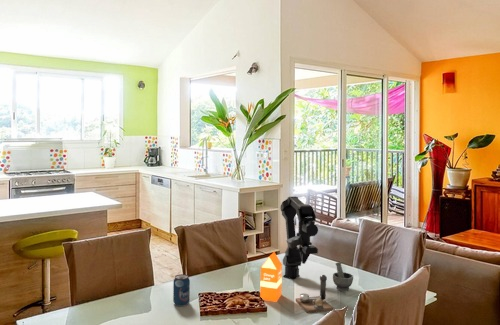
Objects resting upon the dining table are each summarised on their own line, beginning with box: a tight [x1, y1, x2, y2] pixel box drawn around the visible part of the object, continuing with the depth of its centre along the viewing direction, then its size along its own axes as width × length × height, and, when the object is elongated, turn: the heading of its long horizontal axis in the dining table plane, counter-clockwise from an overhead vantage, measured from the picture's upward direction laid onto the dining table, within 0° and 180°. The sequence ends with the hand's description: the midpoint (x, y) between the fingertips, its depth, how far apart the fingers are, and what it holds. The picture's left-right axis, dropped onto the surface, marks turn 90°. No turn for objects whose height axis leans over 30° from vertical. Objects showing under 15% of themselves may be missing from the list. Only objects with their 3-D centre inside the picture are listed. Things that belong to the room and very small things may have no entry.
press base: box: [295, 295, 334, 314], centre depth 175 cm, size 13×12×5 cm
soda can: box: [172, 273, 191, 307], centre depth 175 cm, size 7×7×12 cm
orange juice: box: [259, 251, 283, 303], centre depth 184 cm, size 8×9×20 cm
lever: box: [299, 274, 328, 303], centre depth 176 cm, size 4×12×12 cm, turn 90°
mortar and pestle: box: [332, 261, 354, 293], centre depth 196 cm, size 11×9×12 cm
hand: (303, 263), depth 194 cm, fingers closed
